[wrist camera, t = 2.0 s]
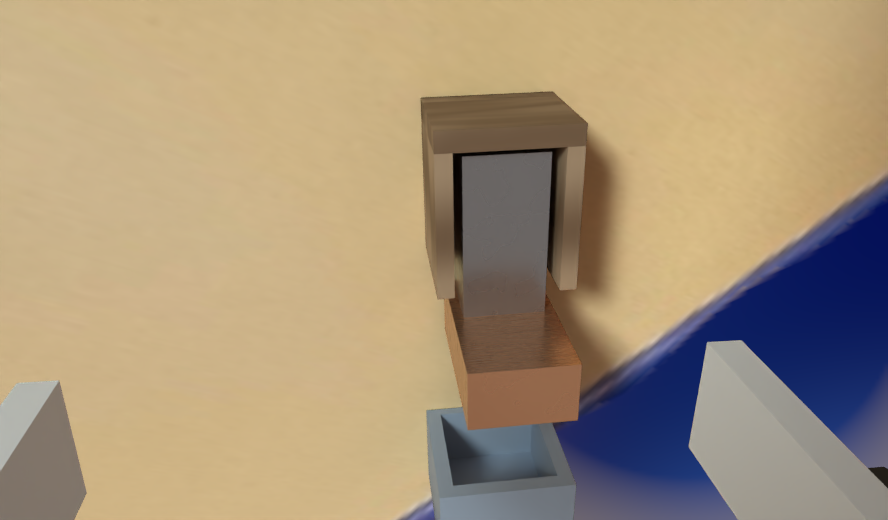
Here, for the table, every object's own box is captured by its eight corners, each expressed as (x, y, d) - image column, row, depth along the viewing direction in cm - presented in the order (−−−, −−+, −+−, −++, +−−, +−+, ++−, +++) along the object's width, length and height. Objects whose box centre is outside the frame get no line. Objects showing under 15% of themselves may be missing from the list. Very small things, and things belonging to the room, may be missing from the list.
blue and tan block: (440, 132, 35) (466, 195, 27) (541, 126, 35) (595, 187, 28) (446, 372, 41) (468, 480, 33) (532, 365, 42) (574, 470, 34)
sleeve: (420, 97, 35) (433, 131, 30) (552, 91, 36) (587, 123, 31) (425, 245, 39) (437, 299, 34) (545, 237, 40) (576, 289, 34)
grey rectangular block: (426, 410, 44) (439, 498, 37) (543, 400, 44) (576, 484, 38) (428, 474, 46) (441, 567, 39) (540, 463, 47) (570, 553, 40)
